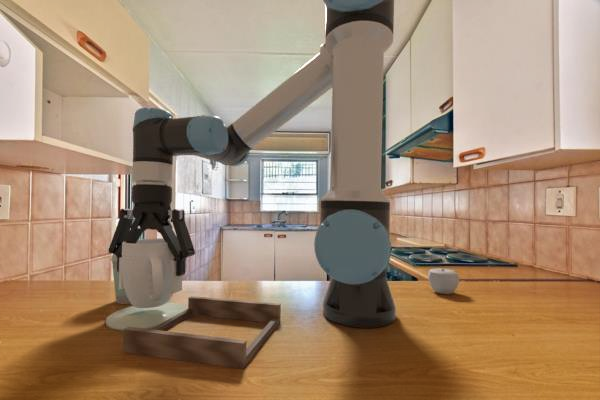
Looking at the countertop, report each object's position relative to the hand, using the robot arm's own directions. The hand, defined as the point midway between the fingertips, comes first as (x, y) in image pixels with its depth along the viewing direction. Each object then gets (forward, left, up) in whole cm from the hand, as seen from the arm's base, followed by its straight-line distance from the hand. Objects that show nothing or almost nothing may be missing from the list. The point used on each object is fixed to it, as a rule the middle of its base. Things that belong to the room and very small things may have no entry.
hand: (150, 289), depth 61 cm
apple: (-64, -35, -6) cm, 73 cm away
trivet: (0, 0, -5) cm, 5 cm away
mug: (0, 0, -3) cm, 3 cm away
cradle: (-17, +5, -5) cm, 18 cm away
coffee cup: (+12, -8, -6) cm, 16 cm away
